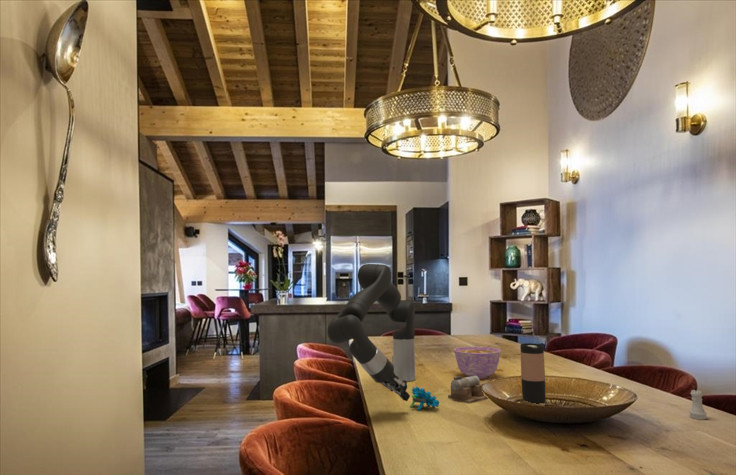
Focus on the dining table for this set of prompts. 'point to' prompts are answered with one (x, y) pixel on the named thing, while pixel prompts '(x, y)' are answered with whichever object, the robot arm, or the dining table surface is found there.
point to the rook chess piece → (697, 406)
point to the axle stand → (466, 389)
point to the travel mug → (533, 372)
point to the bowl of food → (477, 360)
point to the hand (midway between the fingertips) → (406, 398)
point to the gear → (423, 398)
